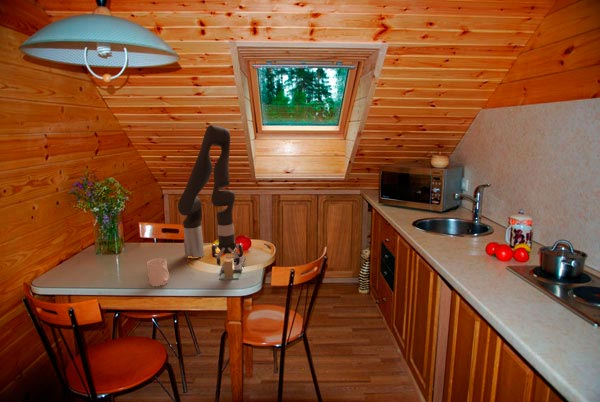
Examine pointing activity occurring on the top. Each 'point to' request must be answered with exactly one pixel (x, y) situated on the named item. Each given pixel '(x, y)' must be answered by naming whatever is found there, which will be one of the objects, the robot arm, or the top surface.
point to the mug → (157, 271)
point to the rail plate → (236, 267)
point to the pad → (222, 277)
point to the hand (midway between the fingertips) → (228, 264)
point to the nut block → (229, 267)
